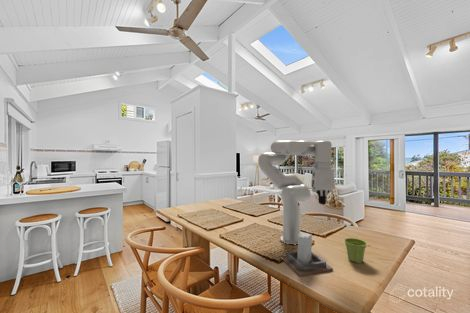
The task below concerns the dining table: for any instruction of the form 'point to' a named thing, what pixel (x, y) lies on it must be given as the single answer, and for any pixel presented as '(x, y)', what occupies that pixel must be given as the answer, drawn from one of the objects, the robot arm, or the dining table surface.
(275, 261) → the dining table surface
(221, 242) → the dining table surface
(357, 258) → the plant pot
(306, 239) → the skincare box
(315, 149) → the robot arm
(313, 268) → the slot holder
